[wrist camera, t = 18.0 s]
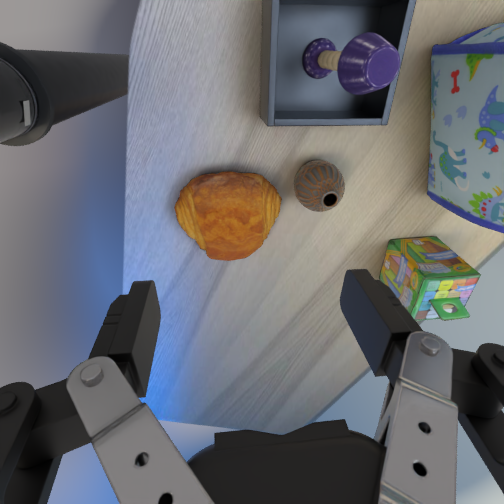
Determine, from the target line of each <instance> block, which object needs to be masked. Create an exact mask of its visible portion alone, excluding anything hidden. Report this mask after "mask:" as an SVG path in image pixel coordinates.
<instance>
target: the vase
mask: <svg viewBox="0 0 504 504" xmlns="http://www.w3.org/2000/svg"><path fill="white" fill-rule="evenodd" d="M344 190H345V183H344V178H343V176H342V174H341V172H340V171H339V169H338V168H337V167H336V166H334V165H333V164H331V163H329V162H327V161H323V160H315V161H311V162H308V163H307V164H305V165H304V166H302V167H301V168H300V170H299V171H298V172H297V174H296V176H295V180H294V191H295V194H296V197H297V199H298V200H299V202H300V203H301V204H302V205H303V206H304V207H306V208H308V209H310V210H312V211H317V212H323V211H327V210H330V209H332V208H333V207H335V206H336V205H337V204H338V203H339V202H340V200H341V199H342V197H343V194H344Z"/></svg>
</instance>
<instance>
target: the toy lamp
mask: <svg viewBox="0 0 504 504" xmlns="http://www.w3.org/2000/svg"><path fill="white" fill-rule="evenodd" d="M303 66H304V70H305V71H306V73H307V74H308V75H309V76H310V77H312V78H315V79H321V78H324V77H326V76H328V75H329V74H330V73H331V72H332V71H337V75H338V79H339V82H340V84H341V86H342V87H343V88H344V89H345V90H346V91H347V92H349V93H351V94H355V95H362V94H367V93H370V92H373V91H376V90H379V89H382V88H384V87H386V86H387V85H389V84H390V83H391V82H392V81H393V80H394V78H395V77H396V75H397V73H398V71H399V68H400V55H399V52H398V51H397V49H396V48H395V47H394V46H393V45H392V44H391V43H389V42H388V41H387V40H386V39H385V38H383V37H382V36H380V35H378V34H376V33H370V32H367V33H363V34H360V35H358V36H356V37H354V38H353V39H352V40H351V41H349V42H348V43H347V45H346V46H345V47H344V49H343V50H342V51H337V50H336V47H335V45H334V44H333V43H332V41H330V40H329V39H327V38H318V39H315V40H313V41H312V42H311V43H310V44H309V45H308V46H307V48H306V50H305V52H304V55H303Z"/></svg>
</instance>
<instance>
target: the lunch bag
mask: <svg viewBox="0 0 504 504" xmlns="http://www.w3.org/2000/svg"><path fill="white" fill-rule="evenodd" d="M427 188H428V191H427V195H428V196H429V197H430V198H431V199H432V200H433V201H435V202H436V203H438V204H439V205H441V206H443V207H444V208H446V209H447V210H449V211H451V212H453V213H455V214H456V215H458V216H460V217H462V218H464V219H466V220H468V221H470V222H472V223H475V224H477V225H480V226H482V227H485V228H488V229H492V230H495V231H498V232H501V233H504V22H503V23H498V24H494V25H492V26H489V27H487V28H482V29H480V30H477V31H474V32H472V33H470V34H466V35H464V36H462V37H460V38H458V39H456V40H454V41H453V42H451V43H449V44H444V45H438V44H437V45H434V46H433V49H432V57H431V135H430V154H429V173H428V187H427Z"/></svg>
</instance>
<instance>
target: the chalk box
mask: <svg viewBox="0 0 504 504" xmlns="http://www.w3.org/2000/svg"><path fill="white" fill-rule="evenodd" d="M480 276H481V274H480V273H478V272H477V271H476V270H475V269H473V268H472V267H471V266H470V265H469V264H468V263H466V262H465V261H464V260H463V259H462V258H460V257H459V256H458V255H457V254H456V253H455V252H453V251H452V250H451V249H450V248H449V247H448V246H447V245H445V244H444V243H443V242H442V241H441V240H440V239H438V238H437V237H423V238H411V239H410V238H409V239H397V240H390V241H389V244H388V248H387V251H386V255H385V259H384V262H383V266H382V270H381V273H380V277H379V279H380V280H381V281H382V282H383V283H384V284H386V285H387V286H388V287H390V288H391V290H392V291H393V292H394V294H395V295H396V298H398V299H399V300H400V301H401V303H402V305H404V307H405V308H406V309H407V310H408V312H409V313H410V314H411V316H412V317H413V318H414V320H415V321H417V320H430V319H441V320H444V321H445V320H454V319H462V318H469V317H470V316H469V313H468V312H467V310H466V308H465V305H466V303H467V301H468V299H469V297H470V295H471V293H472V291H473V289H474V287H475V285H476V283H477V281H478V280H479V278H480Z"/></svg>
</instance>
